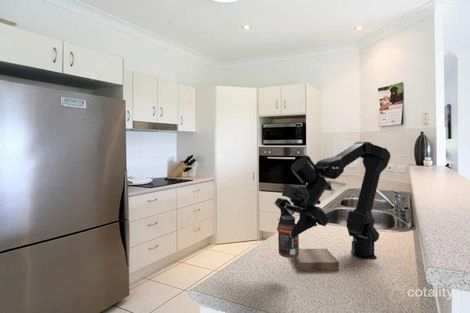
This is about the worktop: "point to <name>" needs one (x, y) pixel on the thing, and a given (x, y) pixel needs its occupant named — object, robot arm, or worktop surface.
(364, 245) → the robot arm
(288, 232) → the supplement bottle
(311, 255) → the walnut plinth
